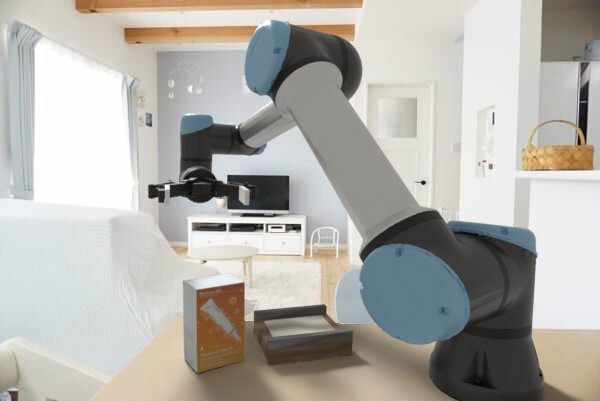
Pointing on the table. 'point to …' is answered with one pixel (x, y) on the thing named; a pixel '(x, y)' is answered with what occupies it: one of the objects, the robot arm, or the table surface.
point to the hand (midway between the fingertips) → (208, 197)
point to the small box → (213, 321)
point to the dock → (300, 334)
